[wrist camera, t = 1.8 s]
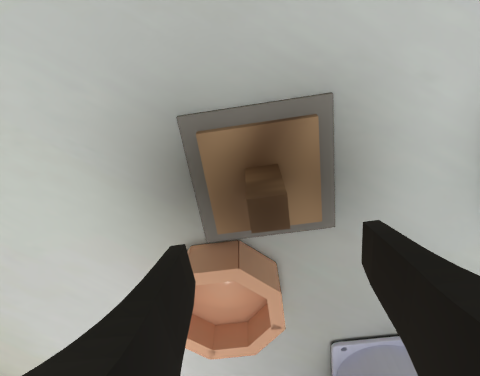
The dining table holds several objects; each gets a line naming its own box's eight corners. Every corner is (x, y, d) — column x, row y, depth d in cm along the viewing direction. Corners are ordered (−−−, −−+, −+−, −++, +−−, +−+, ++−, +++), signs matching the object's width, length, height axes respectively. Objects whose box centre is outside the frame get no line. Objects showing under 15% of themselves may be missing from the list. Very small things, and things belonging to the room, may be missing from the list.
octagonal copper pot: (273, 235, 22) (277, 263, 19) (283, 318, 25) (288, 351, 23) (158, 249, 22) (147, 279, 20) (184, 328, 26) (178, 362, 23)
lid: (315, 113, 18) (339, 137, 13) (320, 216, 21) (340, 261, 16) (197, 131, 18) (184, 159, 14) (218, 229, 21) (213, 276, 17)
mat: (331, 92, 17) (333, 93, 17) (333, 224, 21) (335, 227, 21) (177, 116, 18) (176, 117, 18) (207, 240, 22) (206, 242, 22)
